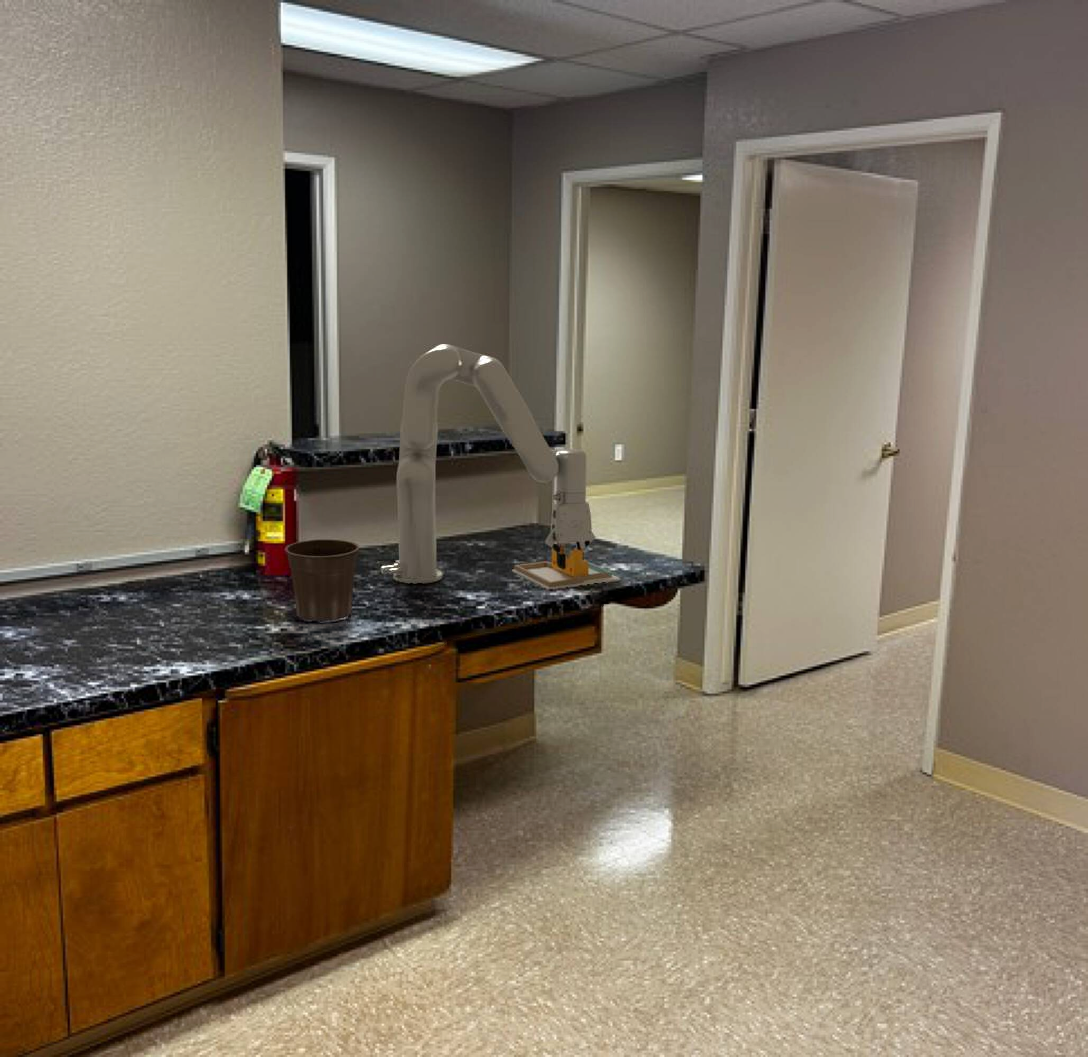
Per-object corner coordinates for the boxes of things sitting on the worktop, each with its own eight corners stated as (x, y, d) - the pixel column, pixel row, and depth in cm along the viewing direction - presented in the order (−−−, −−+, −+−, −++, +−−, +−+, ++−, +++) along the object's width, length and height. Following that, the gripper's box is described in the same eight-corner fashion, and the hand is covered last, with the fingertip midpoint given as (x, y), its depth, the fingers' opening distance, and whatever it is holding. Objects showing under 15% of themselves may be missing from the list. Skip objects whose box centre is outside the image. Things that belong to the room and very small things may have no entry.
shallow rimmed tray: (547, 590, 266) (547, 583, 266) (512, 571, 284) (512, 565, 283) (620, 580, 276) (620, 573, 276) (581, 563, 293) (581, 556, 293)
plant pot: (375, 616, 244) (373, 547, 240) (314, 631, 232) (312, 559, 229) (334, 602, 255) (331, 535, 251) (274, 616, 244) (271, 546, 240)
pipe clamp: (588, 575, 276) (588, 550, 275) (573, 576, 274) (574, 552, 273) (566, 564, 286) (566, 541, 285) (551, 566, 284) (551, 542, 283)
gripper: (548, 502, 269) (548, 573, 273) (606, 497, 277) (605, 566, 280) (535, 497, 275) (534, 567, 279) (592, 492, 283) (590, 560, 287)
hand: (569, 566), depth 280 cm, fingers closed on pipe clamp, 4 cm apart
